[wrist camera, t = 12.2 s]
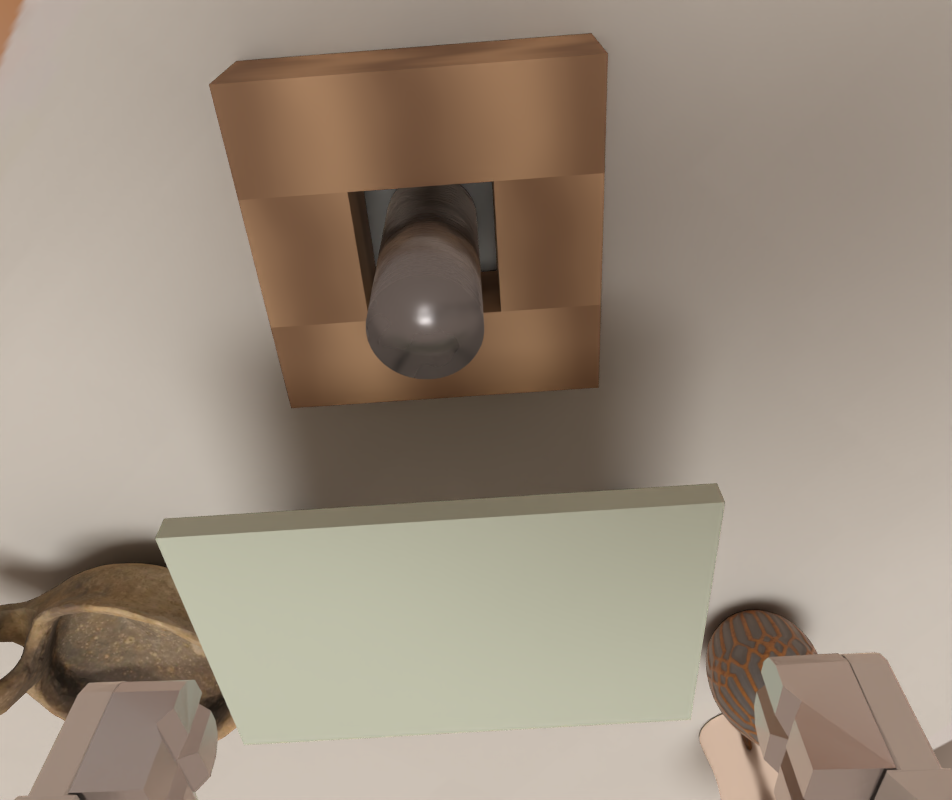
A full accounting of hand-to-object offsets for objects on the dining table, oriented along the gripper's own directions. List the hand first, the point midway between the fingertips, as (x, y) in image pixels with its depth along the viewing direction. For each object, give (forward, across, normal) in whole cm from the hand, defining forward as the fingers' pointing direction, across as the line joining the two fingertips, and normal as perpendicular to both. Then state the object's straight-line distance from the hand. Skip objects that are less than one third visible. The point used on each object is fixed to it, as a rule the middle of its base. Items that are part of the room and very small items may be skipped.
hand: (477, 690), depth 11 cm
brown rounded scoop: (+25, +24, +26) cm, 43 cm away
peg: (+26, +2, +3) cm, 26 cm away
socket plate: (+26, +3, +3) cm, 26 cm away
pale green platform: (+26, +3, +16) cm, 30 cm away
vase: (+26, -15, +33) cm, 45 cm away
